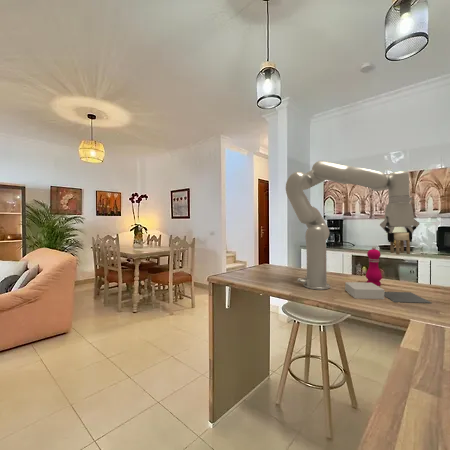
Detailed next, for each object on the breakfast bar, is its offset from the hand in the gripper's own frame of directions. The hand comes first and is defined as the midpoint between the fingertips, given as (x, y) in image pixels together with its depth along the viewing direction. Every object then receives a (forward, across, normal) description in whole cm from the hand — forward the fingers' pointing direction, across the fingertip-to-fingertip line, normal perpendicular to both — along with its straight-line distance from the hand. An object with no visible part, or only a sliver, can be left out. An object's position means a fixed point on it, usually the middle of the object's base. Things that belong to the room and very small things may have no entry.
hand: (399, 241), depth 110 cm
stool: (+5, 0, 0) cm, 5 cm away
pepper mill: (+24, +1, -21) cm, 32 cm away
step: (+24, +14, -4) cm, 28 cm away
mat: (+24, -1, 0) cm, 24 cm away
